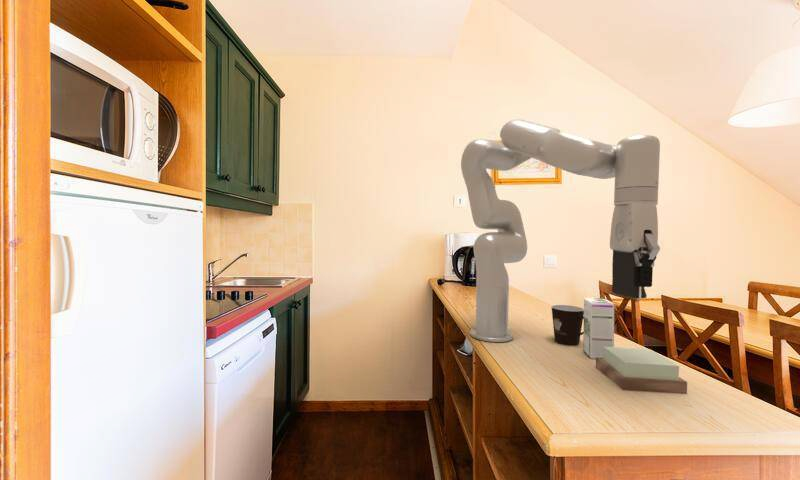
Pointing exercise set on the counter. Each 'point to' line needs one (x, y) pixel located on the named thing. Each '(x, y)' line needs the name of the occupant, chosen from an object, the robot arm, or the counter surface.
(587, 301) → the syrup box
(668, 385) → the tower base
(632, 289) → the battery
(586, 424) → the counter surface
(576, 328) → the coffee mug
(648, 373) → the tower top
